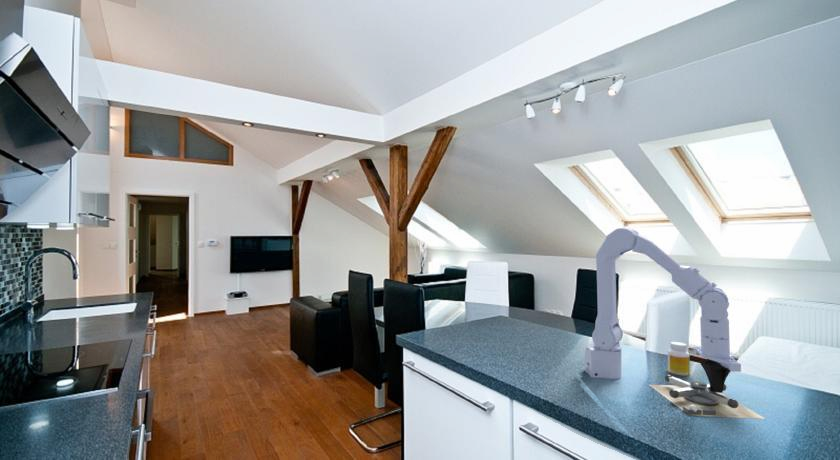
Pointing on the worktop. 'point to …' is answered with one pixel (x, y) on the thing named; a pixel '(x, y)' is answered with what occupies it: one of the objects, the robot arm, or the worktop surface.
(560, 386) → the worktop surface
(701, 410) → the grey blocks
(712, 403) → the cam capstan
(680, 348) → the supplement bottle
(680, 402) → the stand plate
